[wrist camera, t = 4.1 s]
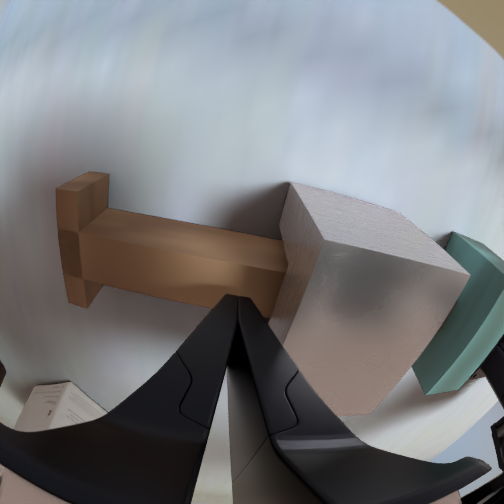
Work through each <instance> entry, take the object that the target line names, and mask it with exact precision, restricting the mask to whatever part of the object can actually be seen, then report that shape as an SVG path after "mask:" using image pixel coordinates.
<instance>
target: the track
mask: <svg viewBox="0 0 504 504" xmlns="http://www.w3.org/2000/svg"><path fill="white" fill-rule="evenodd" d="M108 186H109V174H105V173H97V172H88V173H85V174H83V175H81V176H79V177H77V178H75V179H73V180H71V181H69V182H67V183H65V184H63V185H61V186H59V187H58V188H56V211H57V226H58V237H59V246H60V254H61V262H62V268H63V275H64V281H65V286H66V292H67V297H68V301H69V303H71V304H75V305H78V306H81V307H84V308H88V307H89V306H90V304H91V303H92V301H93V300H94V298H95V297H96V295H97V294H98V292H99V291H100V289H101V288H102V286H103V285H107V286H111V287H115V288H119V289H123V290H127V291H132V292H136V293H140V294H145V295H149V296H154V297H158V298H163V299H168V300H172V301H177V302H182V303H187V304H192V305H197V306H203V307H208V308H214V306H215V305H216V304H217V303H218V302H219V301H220V299H221V298H222V297H223V296H224V295H225V294H233V295H237V296H244V297H249V298H251V299H252V301H253V302H254V304H255V305H256V307H257V308H258V310H259V311H260V313H261V314H262V316H263V317H268V318H271V315H272V312H273V309H274V307H275V304H276V301H277V298H278V295H279V292H280V289H281V286H282V283H283V280H284V277H285V274H286V271H287V268H288V265H289V264H288V260H287V256H286V252H285V248H284V244H283V241H280V240H275V239H270V238H265V237H260V236H255V235H250V234H245V233H240V232H235V231H230V230H225V229H219V228H214V227H209V226H204V225H198V224H193V223H188V222H182V221H177V220H171V219H166V218H161V217H155V216H149V215H144V214H138V213H133V212H127V211H121V210H116V209H110V208H108ZM445 251H446V252H447V253H448V254H449V255H450V256H451V257H452V258H453V259H454V260H456V261H457V262H458V263H459V264H460V265H461V266H462V267H463V268H464V269H465V270H466V271H467V272H468V273H469V274H470V275H471V276H470V278H469V279H468V281H467V283H466V285H465V287H464V289H463V290H462V292H461V294H460V296H459V297H458V299H457V301H456V302H455V304H454V306H453V307H452V309H451V311H450V312H449V314H448V316H447V317H446V319H445V320H444V322H443V323H442V325H441V326H440V328H439V329H438V331H437V332H436V334H435V335H434V337H433V338H432V339H431V341H430V342H429V344H428V345H427V346H426V348H425V349H424V350H423V352H422V353H421V354H420V356H419V357H418V358H417V360H416V361H415V362H414V364H413V365H412V368H413V370H414V372H415V375H416V377H417V379H418V381H419V383H420V385H421V387H422V389H423V392H424V394H425V395H431V394H437V393H443V392H448V391H453V390H458V389H459V388H460V387H461V386H462V385H463V384H464V383H465V382H466V381H467V380H468V378H469V377H470V376H471V375H472V374H473V373H474V372H475V370H476V369H477V368H478V367H479V366H480V364H481V363H482V362H483V361H484V359H485V358H486V357H487V356H488V354H489V353H490V352H491V350H492V349H493V348H494V346H495V345H496V344H497V342H498V341H499V339H500V338H501V337H502V335H503V334H504V261H503V260H502V259H501V258H500V257H499V256H497V255H496V254H495V253H494V252H493V251H491V250H490V249H489V248H488V247H486V246H485V245H484V244H482V243H480V242H478V241H475V240H473V239H471V238H468V237H466V236H463V235H461V234H458V233H456V232H453V233H452V235H451V238H450V240H449V242H448V244H447V247H446V249H445Z"/></svg>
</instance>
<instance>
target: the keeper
mask: <svg viewBox="0 0 504 504" xmlns="http://www.w3.org/2000/svg"><path fill="white" fill-rule="evenodd" d="M279 228H280V232H281V236H282V240H283V244H284V248H285V252H286V256H287V260H288V264H289V265H288V268H287V271H286V274H285V277H284V280H283V283H282V286H281V289H280V292H279V295H278V298H277V301H276V304H275V307H274V309H273V312H272V315H271V318H268V317H264V319H265V320H266V322H267V323H268V325H269V326H270V328H271V329H272V331H273V332H274V334H275V335H276V336H277V338H278V339H279V341H280V342H281V344H282V345H283V347H284V348H285V350H286V351H287V353H288V354H289V356H290V357H291V358H292V360H293V361H294V363H295V364H296V366H297V367H298V369H299V371H301V373H302V374H303V376H304V377H305V378H306V380H307V381H308V383H309V384H310V385H311V387H312V388H313V389H314V391H315V392H316V393H317V394H318V395H319V397H320V398H321V399H322V400H323V401H324V402H325V404H326V405H327V406H328V407H329V408H330V409H331V410H332V411H333V412H334V414H335V415H336V416H349V415H364V414H370V413H371V411H372V410H373V409H374V408H375V407H376V406H377V405H378V404H379V403H380V402H381V401H382V400H383V399H384V398H385V397H386V396H387V394H388V393H389V392H390V391H391V390H392V389H393V388H394V387H395V385H396V384H397V383H398V382H399V381H400V380H401V378H402V377H403V376H404V375H405V374H406V372H407V371H408V370H409V369H410V367H411V366H412V365H413V364H414V362H415V361H416V360H417V358H418V357H419V356H420V354H421V353H422V352H423V350H424V349H425V348H426V346H427V345H428V344H429V342H430V341H431V339H432V338H433V337H434V335H435V334H436V332H437V331H438V329H439V328H440V326H441V325H442V323H443V322H444V320H445V319H446V317H447V316H448V314H449V312H450V311H451V309H452V307H453V306H454V304H455V302H456V301H457V299H458V297H459V296H460V294H461V292H462V290H463V289H464V287H465V285H466V283H467V281H468V279H469V278H470V276H471V275H470V274H469V273H468V272H467V271H466V270H465V269H464V268H463V267H462V266H461V265H460V264H459V263H458V262H457V261H456V260H454V259H453V258H452V257H451V256H450V255H449V254H448V253H447V252H446V251H445V250H444V249H442V248H441V247H440V246H439V245H438V244H437V243H436V242H435V241H433V240H432V239H431V238H430V237H429V236H428V235H426V234H425V233H424V232H423V231H422V230H421V229H419V228H418V227H417V226H416V225H414V224H413V223H412V222H411V221H410V220H408V219H407V218H406V217H405V216H403V215H402V214H401V213H398V212H395V211H392V210H389V209H386V208H383V207H380V206H377V205H374V204H370V203H367V202H364V201H360V200H357V199H354V198H350V197H347V196H343V195H340V194H336V193H332V192H329V191H325V190H321V189H318V188H314V187H310V186H306V185H302V184H298V183H294V182H291V183H290V187H289V190H288V194H287V198H286V201H285V205H284V209H283V212H282V216H281V219H280V223H279Z"/></svg>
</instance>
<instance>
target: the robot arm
mask: <svg viewBox="0 0 504 504" xmlns="http://www.w3.org/2000/svg"><path fill="white" fill-rule="evenodd" d="M226 368H227V385H228V414H229V438H230V458H231V476H232V483H233V484H232V493H233V504H504V417H502V418H501V419H500V420H499V421H498V422H496V423H494V424H493V425H492V426H491V431H492V438H493V441H494V445H495V450H496V454H497V459H498V465H499V468H500V469H502V471H503V472H502V473H501V474H499V475H498V476H496V477H495V478H493V479H492V480H490V481H489V482H487V483H485V484H484V485H482V486H480V487H479V488H477V489H475V490H474V491H472V492H470V493H468V494H466V495H465V496H463V497H461V498H460V494H459V491H458V490H459V489H461V488H463V487H465V486H466V485H468V484H470V483H471V482H473V481H474V480H476V479H478V478H480V477H481V476H482V475H484V474H486V473H487V472H489V471H490V470H491V469H492V468H491V467H490V466H489V465H488V464H486V463H485V462H484V461H482V460H480V459H476V458H472V457H464V458H462V459H460V460H458V461H456V462H453V463H446V464H443V463H432V462H427V461H422V460H418V459H414V458H409V457H406V456H402V455H398V454H394V453H391V452H387V451H384V450H380V449H377V448H374V447H371V446H369V445H367V444H366V443H364V442H363V441H361V440H360V439H359V438H357V437H356V436H355V435H354V434H353V433H352V432H351V431H350V430H349V429H348V428H347V426H346V425H345V424H344V423H343V422H342V421H341V420H340V419H339V418H338V417H337V416H336V415H335V414H334V412H333V411H332V410H331V409H330V408H329V407H328V406H327V405H326V404H325V402H324V401H323V400H322V399H321V398H320V397H319V395H318V394H317V393H316V392H315V391H314V389H313V388H312V387H311V385H310V384H309V383H308V381H307V380H306V378H305V377H304V376H303V374H302V373H301V371H299V369H298V367H297V366H296V364H295V363H294V361H293V360H292V358H291V357H290V356H289V354H288V353H287V351H286V350H285V348H284V347H283V345H282V344H281V342H280V341H279V339H278V338H277V336H276V335H275V334H274V332H273V331H272V329H271V328H270V326H269V325H268V323H267V322H266V320H265V319H264V317H263V316H262V314H261V313H260V311H259V310H258V308H257V307H256V305H255V304H254V302H253V301H252V299H251V298H249V297H244V296H237V295H233V294H225V295H224V296H223V297H222V298H221V299H220V301H219V302H218V303H217V304H216V305H215V306H214V308H213V309H212V310H211V311H210V312H209V313H208V315H207V316H206V317H205V318H204V319H203V320H202V322H201V323H200V324H199V325H198V326H197V327H196V329H195V330H194V331H193V332H192V333H191V334H190V336H189V337H188V338H187V339H186V340H185V341H184V343H183V344H182V345H181V346H180V347H179V348H178V350H177V351H176V352H175V353H174V354H173V355H172V356H171V357H170V359H169V360H168V361H167V362H166V363H165V364H164V365H163V366H162V367H161V368H160V369H159V370H158V372H156V373H155V374H154V375H153V376H152V377H151V378H150V379H149V380H148V381H147V382H145V383H144V384H143V385H142V386H141V387H139V388H138V389H137V390H136V391H135V392H133V393H132V394H131V395H130V396H129V397H127V398H126V399H125V400H124V401H123V402H121V403H120V404H119V405H118V406H116V407H115V408H114V409H113V410H111V411H110V412H108V413H107V414H105V415H104V416H102V417H100V418H97V419H95V420H91V421H87V422H83V423H78V424H74V425H69V426H64V427H59V428H54V429H48V430H42V431H34V432H25V431H18V430H14V429H11V428H9V427H7V426H5V425H3V424H2V423H1V422H0V464H1V465H2V466H4V469H3V472H2V475H1V476H0V504H191V501H192V497H193V493H194V489H195V486H196V482H197V478H198V474H199V471H200V467H201V463H202V459H203V455H204V452H205V448H206V444H207V440H208V436H209V433H210V429H211V425H212V421H213V417H214V414H215V410H216V406H217V402H218V398H219V395H220V391H221V387H222V383H223V379H224V375H225V372H226ZM481 377H486V379H487V380H488V382H489V384H490V385H491V387H492V389H493V391H494V392H495V394H496V396H497V398H498V400H499V402H500V403H501V405H502V407H503V409H504V334H503V335H502V337H501V338H500V339H499V341H498V342H497V344H496V345H495V346H494V348H493V349H492V350H491V352H490V353H489V354H488V356H487V357H486V358H485V359H484V361H483V362H482V363H481V364H480V366H479V367H478V368H477V369H476V370H475V372H474V373H473V374H472V375H471V376H470V379H471V380H472V379H477V378H481Z"/></svg>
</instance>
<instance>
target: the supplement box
mask: <svg viewBox="0 0 504 504" xmlns="http://www.w3.org/2000/svg"><path fill="white" fill-rule="evenodd" d="M105 414H107V412H106V411H105V410H104V409H102V408H101V407H100V406H99V405H98V404H96V403H95V402H94V401H93V400H92V399H90V398H89V397H88V396H87V395H86V394H84V393H83V392H82V391H81V390H80V389H79V388H78V387H77V386H76V385H74V384H73V383H72V382H65V383H61V384H54V385H36V386H34V388H33V390H32V392H31V394H30V396H29V398H28V400H27V402H26V404H25V406H24V408H23V410H22V412H21V414H20V416H19V418H18V420H17V423H16V425H15V427H14V430H18V431H25V432H34V431H42V430H48V429H54V428H59V427H64V426H69V425H74V424H78V423H83V422H87V421H91V420H95V419H97V418H100V417H102V416H104V415H105ZM3 469H4V466H2V465H1V464H0V476H1V475H2V472H3Z"/></svg>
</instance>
